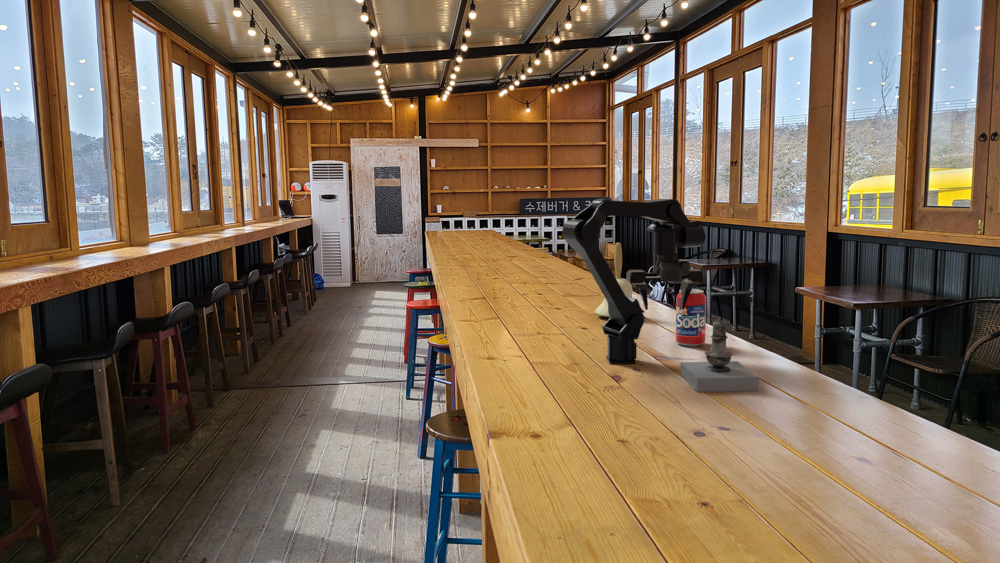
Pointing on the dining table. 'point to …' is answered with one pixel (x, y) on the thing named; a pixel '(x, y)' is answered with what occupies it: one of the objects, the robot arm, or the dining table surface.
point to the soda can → (691, 319)
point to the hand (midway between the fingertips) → (664, 309)
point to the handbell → (622, 282)
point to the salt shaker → (718, 349)
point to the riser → (719, 377)
